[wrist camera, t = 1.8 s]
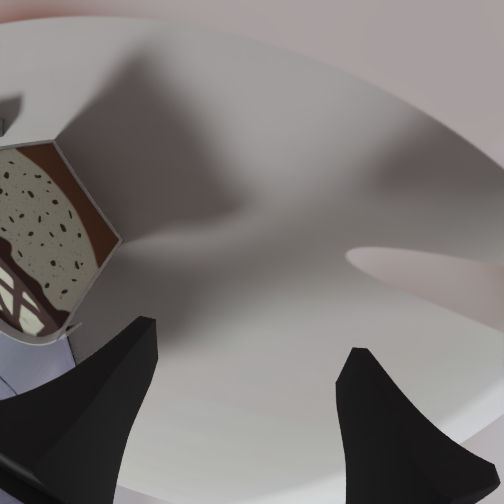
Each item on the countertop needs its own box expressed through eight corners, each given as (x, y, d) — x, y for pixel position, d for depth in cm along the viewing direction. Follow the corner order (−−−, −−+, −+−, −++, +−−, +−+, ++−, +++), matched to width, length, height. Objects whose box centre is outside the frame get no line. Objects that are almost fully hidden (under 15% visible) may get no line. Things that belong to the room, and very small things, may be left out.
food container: (8, 175, 19) (-81, 219, 10) (45, 124, 17) (-62, 152, 8) (88, 290, 23) (23, 373, 14) (136, 256, 21) (64, 348, 12)
